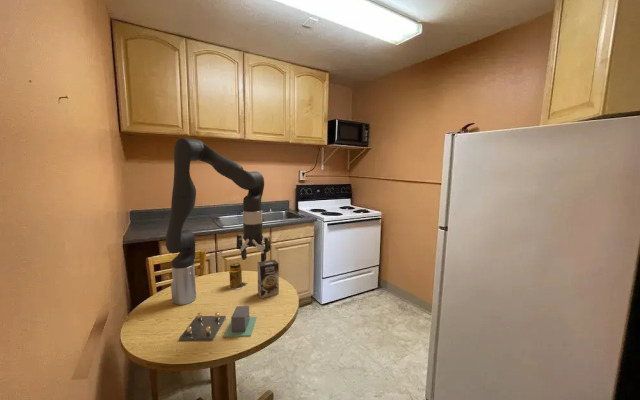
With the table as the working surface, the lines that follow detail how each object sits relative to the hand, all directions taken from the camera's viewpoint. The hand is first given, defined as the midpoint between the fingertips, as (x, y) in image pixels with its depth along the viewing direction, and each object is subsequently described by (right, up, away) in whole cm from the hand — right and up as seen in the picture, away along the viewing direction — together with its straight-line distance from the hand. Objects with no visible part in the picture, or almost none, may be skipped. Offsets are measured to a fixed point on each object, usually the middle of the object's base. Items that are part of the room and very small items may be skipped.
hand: (253, 260), depth 108 cm
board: (-4, -26, -4) cm, 26 cm away
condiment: (-17, -21, +32) cm, 41 cm away
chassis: (-18, -25, -5) cm, 32 cm away
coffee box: (+2, -22, +23) cm, 32 cm away
